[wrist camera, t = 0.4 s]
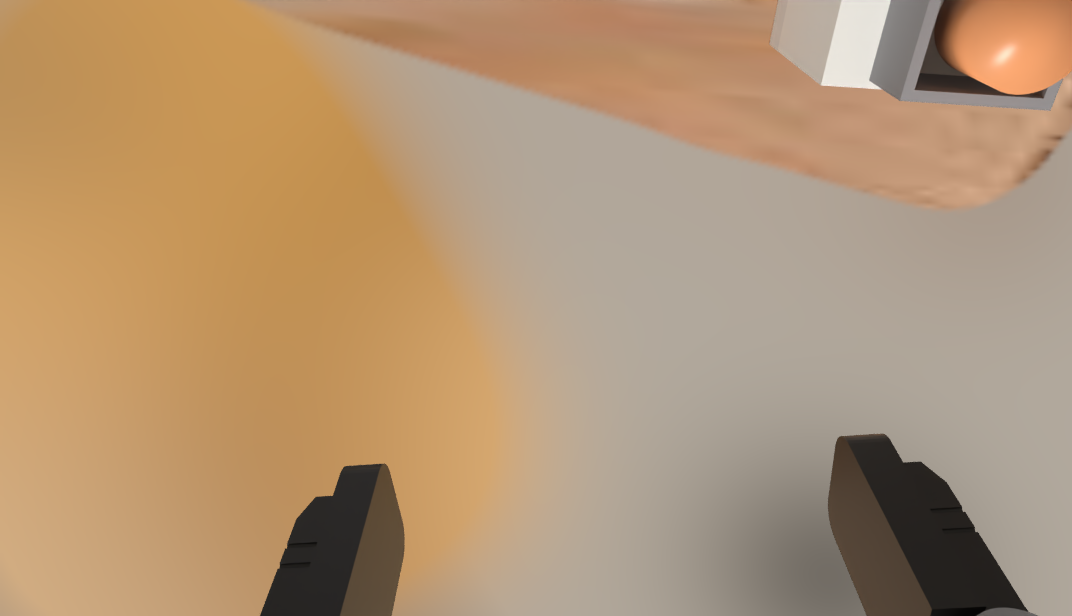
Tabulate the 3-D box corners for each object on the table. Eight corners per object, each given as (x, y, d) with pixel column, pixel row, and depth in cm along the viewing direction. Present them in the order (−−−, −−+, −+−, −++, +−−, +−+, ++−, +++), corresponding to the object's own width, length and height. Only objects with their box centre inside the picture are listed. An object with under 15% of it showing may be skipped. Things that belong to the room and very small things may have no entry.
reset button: (954, -40, 26) (999, -30, 23) (1059, -33, 26) (1117, -21, 23) (920, 70, 28) (959, 91, 25) (1019, 76, 28) (1068, 98, 25)
